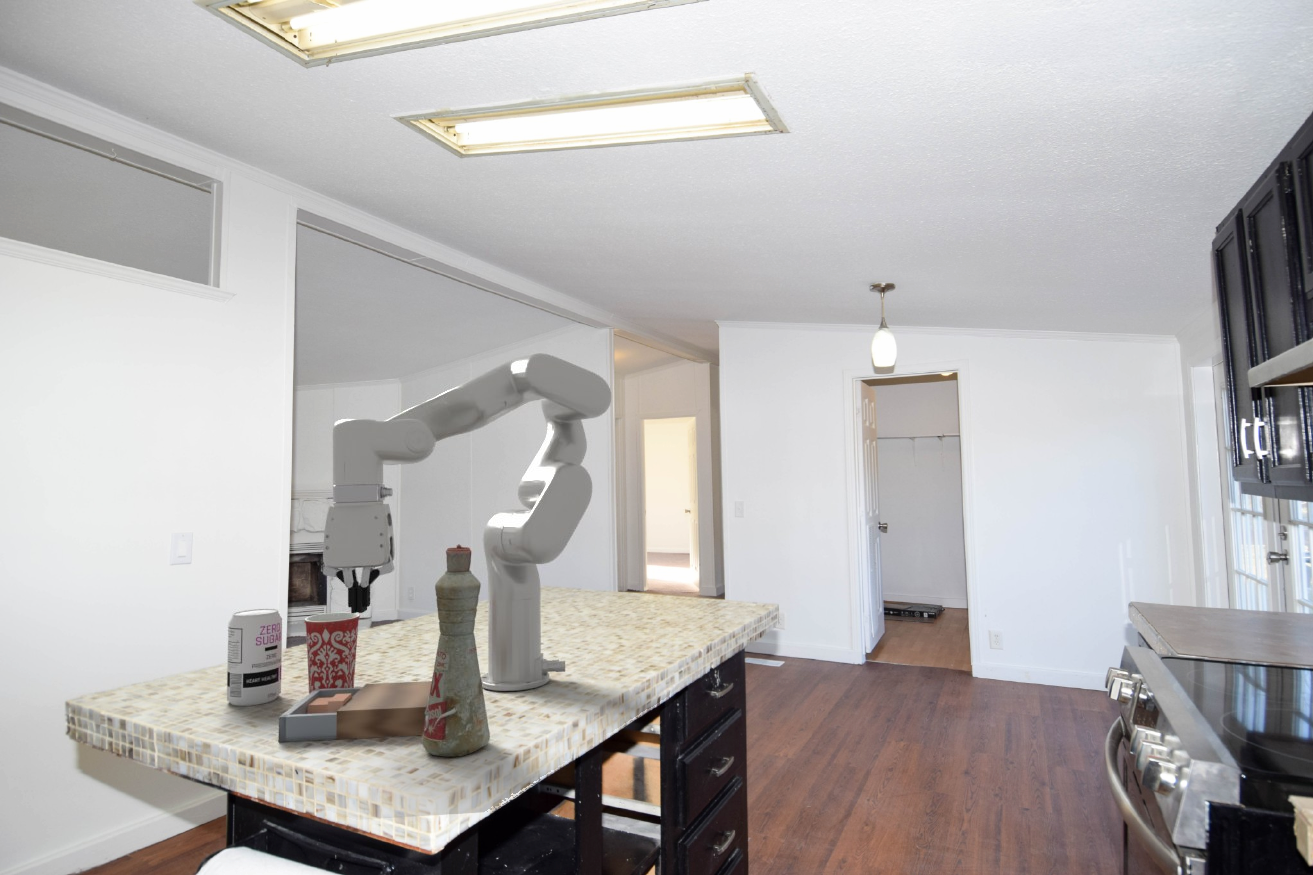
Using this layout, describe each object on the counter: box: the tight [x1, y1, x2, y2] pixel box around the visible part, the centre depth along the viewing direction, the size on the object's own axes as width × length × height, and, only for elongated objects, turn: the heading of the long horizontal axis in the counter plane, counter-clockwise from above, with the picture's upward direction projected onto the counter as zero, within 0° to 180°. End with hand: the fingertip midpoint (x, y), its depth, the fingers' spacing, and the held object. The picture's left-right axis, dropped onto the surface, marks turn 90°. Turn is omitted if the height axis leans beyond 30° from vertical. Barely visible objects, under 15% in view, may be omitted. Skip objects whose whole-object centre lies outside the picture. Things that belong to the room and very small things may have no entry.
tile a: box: [328, 693, 351, 713], centre depth 113 cm, size 4×4×2 cm
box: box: [277, 686, 363, 743], centre depth 115 cm, size 8×15×4 cm, turn 6°
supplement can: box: [226, 608, 283, 707], centre depth 130 cm, size 8×8×15 cm
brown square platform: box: [335, 680, 432, 740], centre depth 116 cm, size 13×15×4 cm
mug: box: [304, 611, 361, 695], centre depth 135 cm, size 13×9×14 cm
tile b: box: [307, 697, 333, 714], centre depth 118 cm, size 4×4×2 cm
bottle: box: [421, 543, 491, 758], centre depth 104 cm, size 9×9×28 cm
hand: (359, 611), depth 119 cm, fingers closed
